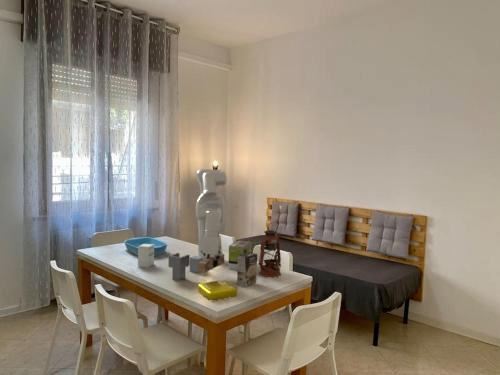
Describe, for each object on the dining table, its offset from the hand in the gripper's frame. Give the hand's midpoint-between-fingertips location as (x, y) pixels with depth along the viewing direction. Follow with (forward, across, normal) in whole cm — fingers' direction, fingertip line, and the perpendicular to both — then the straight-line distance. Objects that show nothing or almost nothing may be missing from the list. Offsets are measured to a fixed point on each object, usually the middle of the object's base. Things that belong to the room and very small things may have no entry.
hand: (211, 265), depth 200 cm
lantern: (+8, +24, +26) cm, 36 cm away
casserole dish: (+10, -72, +27) cm, 77 cm away
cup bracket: (+8, -16, -7) cm, 20 cm away
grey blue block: (+8, -16, +9) cm, 21 cm away
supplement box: (+9, -48, +2) cm, 49 cm away
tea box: (+9, +2, +30) cm, 32 cm away
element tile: (+8, +13, -15) cm, 22 cm away
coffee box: (+8, +20, +4) cm, 22 cm away
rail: (+1, 0, 0) cm, 1 cm away
